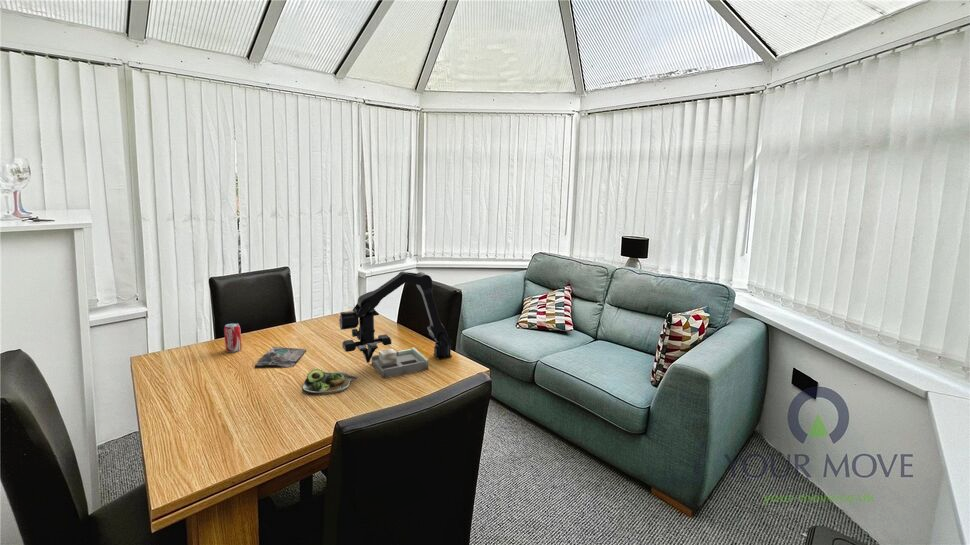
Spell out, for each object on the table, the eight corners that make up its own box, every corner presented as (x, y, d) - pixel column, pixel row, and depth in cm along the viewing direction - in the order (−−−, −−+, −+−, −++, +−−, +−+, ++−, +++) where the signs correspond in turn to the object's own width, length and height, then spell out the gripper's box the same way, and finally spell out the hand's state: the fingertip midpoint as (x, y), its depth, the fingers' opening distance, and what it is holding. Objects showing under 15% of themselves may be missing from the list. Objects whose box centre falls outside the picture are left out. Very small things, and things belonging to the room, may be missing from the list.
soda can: (245, 349, 196) (242, 324, 193) (230, 354, 190) (228, 328, 188) (237, 346, 199) (235, 321, 196) (223, 350, 194) (220, 325, 191)
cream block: (392, 357, 188) (392, 348, 187) (396, 361, 184) (396, 352, 183) (379, 359, 185) (378, 350, 184) (382, 364, 181) (382, 354, 180)
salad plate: (358, 373, 177) (358, 362, 176) (356, 393, 160) (356, 381, 159) (308, 376, 173) (307, 365, 172) (299, 397, 156) (299, 385, 155)
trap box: (413, 355, 195) (413, 347, 194) (428, 369, 182) (428, 360, 181) (371, 363, 186) (371, 354, 185) (384, 378, 172) (383, 368, 171)
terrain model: (293, 368, 179) (292, 361, 179) (254, 369, 178) (254, 362, 177) (308, 350, 199) (307, 343, 198) (274, 350, 198) (273, 343, 197)
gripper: (382, 317, 188) (383, 351, 191) (338, 323, 179) (340, 359, 182) (391, 325, 179) (392, 360, 182) (345, 332, 169) (346, 369, 172)
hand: (367, 362), depth 180 cm, fingers closed
